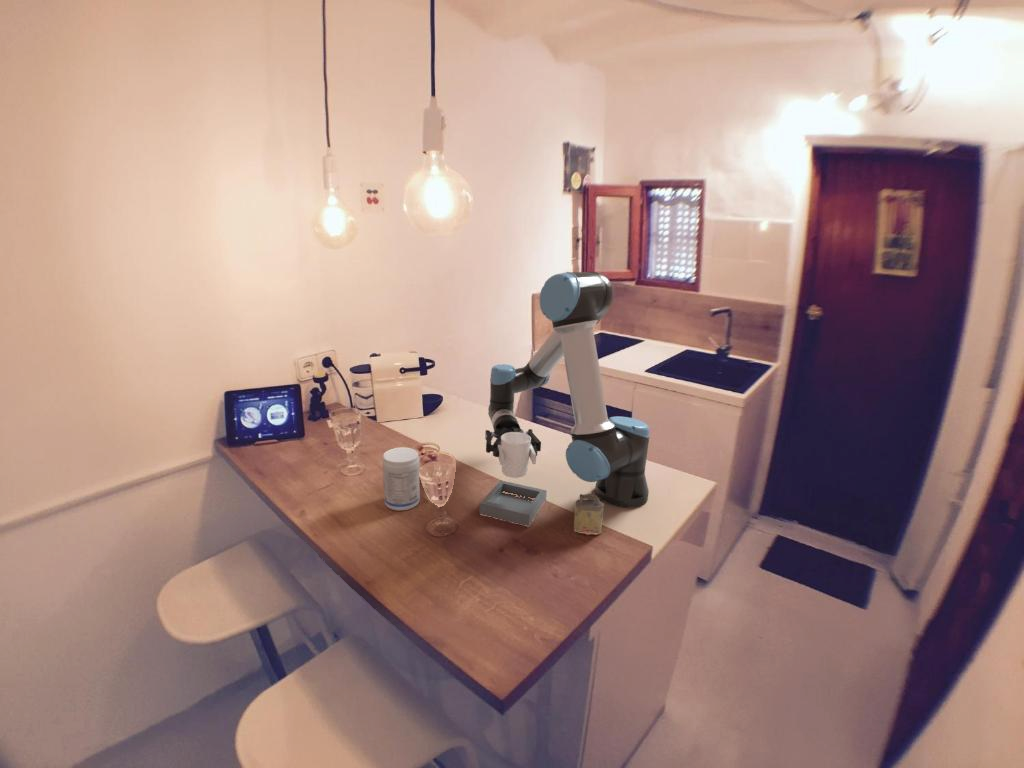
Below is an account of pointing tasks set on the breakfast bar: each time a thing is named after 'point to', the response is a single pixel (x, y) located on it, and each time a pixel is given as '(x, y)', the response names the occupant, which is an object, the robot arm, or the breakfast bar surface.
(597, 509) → the lighter
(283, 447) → the breakfast bar surface
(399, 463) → the supplement tub
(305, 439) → the breakfast bar surface
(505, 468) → the white cup
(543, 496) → the slate coaster tray
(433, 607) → the breakfast bar surface
